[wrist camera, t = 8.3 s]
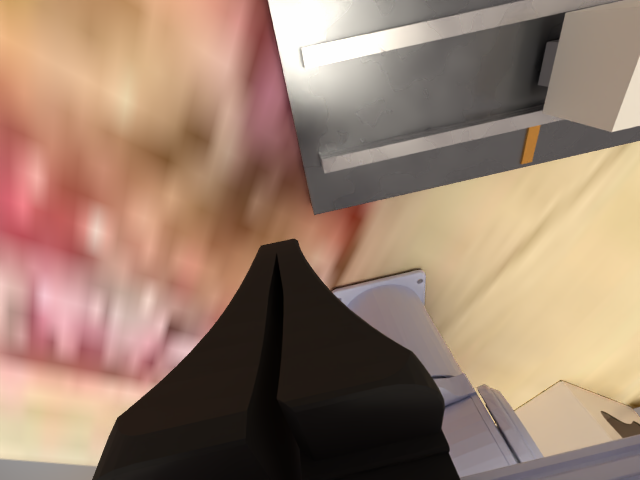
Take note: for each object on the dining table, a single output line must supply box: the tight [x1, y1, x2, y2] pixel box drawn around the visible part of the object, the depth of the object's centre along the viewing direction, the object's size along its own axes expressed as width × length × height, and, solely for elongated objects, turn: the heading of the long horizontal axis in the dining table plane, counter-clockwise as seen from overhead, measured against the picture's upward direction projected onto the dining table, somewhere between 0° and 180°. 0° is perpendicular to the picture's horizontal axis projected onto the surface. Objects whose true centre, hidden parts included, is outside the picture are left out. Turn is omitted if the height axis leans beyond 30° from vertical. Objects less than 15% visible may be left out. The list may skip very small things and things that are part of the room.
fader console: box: [267, 0, 640, 215], centre depth 16 cm, size 12×24×2 cm, turn 100°
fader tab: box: [538, 0, 640, 132], centre depth 14 cm, size 4×3×5 cm
